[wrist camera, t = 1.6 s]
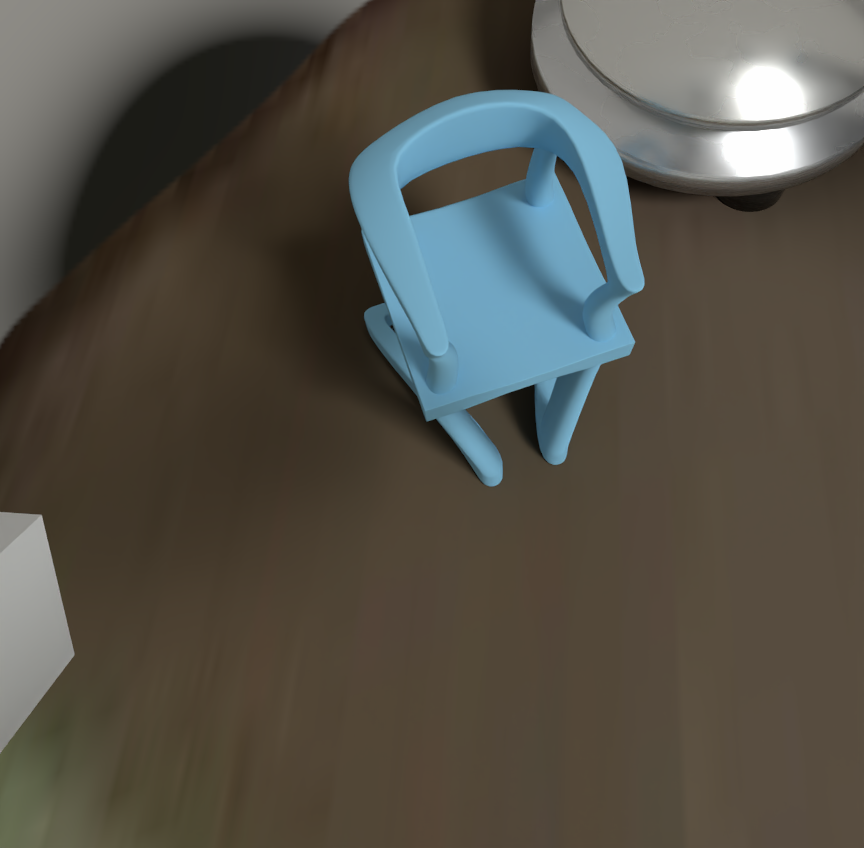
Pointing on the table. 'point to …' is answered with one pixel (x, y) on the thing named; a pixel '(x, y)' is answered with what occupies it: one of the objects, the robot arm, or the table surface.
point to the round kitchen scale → (711, 87)
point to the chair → (498, 266)
